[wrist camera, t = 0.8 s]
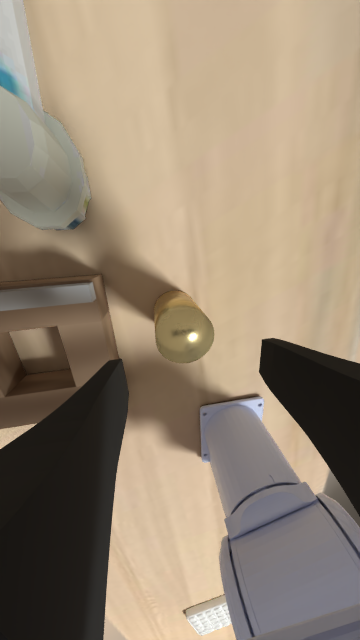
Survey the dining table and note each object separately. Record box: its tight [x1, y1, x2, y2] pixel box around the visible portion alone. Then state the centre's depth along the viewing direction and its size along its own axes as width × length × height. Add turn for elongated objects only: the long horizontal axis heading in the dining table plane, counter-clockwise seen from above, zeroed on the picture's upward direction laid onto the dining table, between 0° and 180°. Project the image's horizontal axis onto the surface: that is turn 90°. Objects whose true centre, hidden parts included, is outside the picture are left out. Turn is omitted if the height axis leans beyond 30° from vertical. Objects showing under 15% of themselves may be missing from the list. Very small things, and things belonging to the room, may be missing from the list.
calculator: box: [186, 595, 232, 636], centre depth 45 cm, size 13×20×2 cm, turn 105°
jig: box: [0, 274, 119, 429], centre depth 16 cm, size 12×12×4 cm
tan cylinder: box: [154, 291, 214, 363], centre depth 16 cm, size 4×4×6 cm
